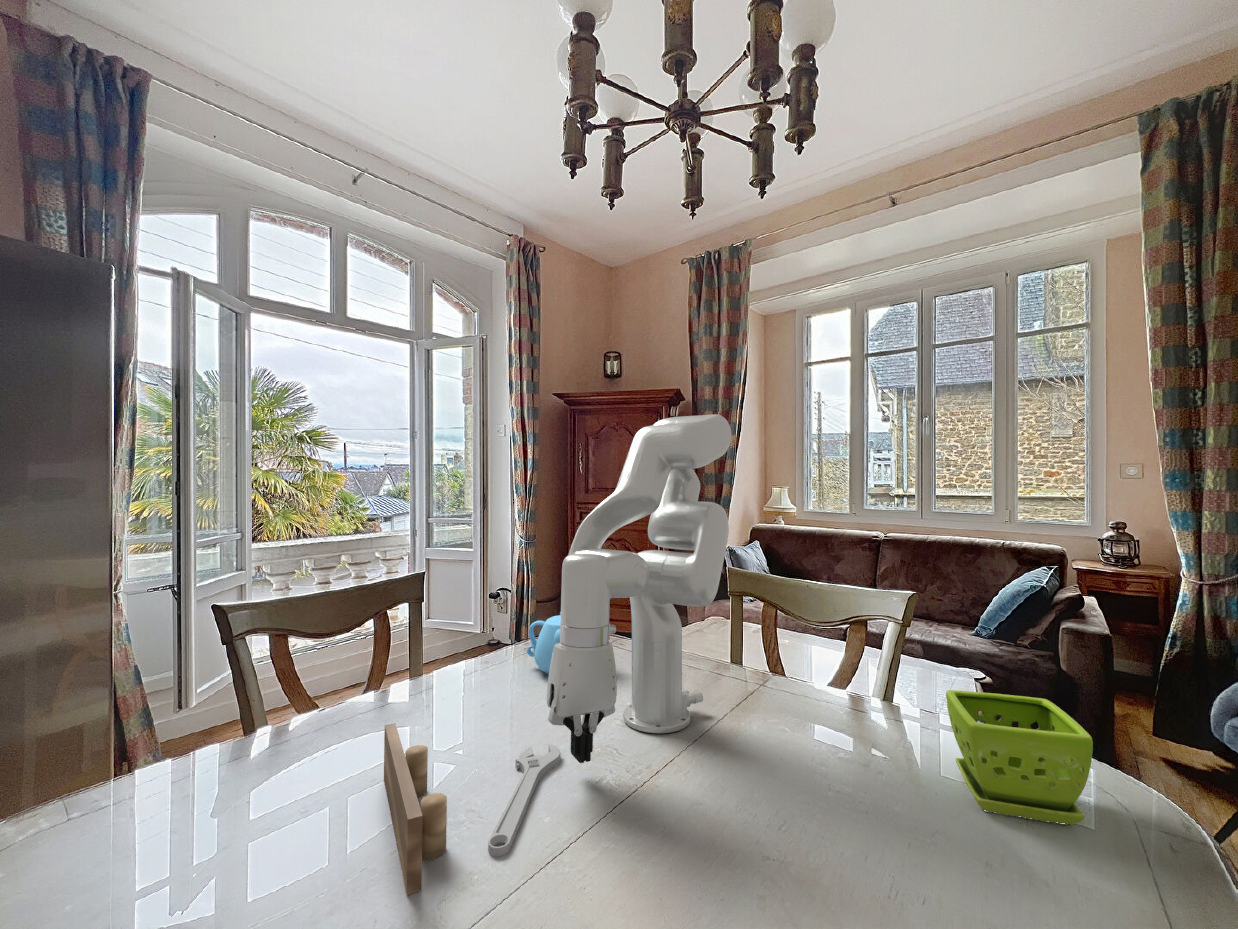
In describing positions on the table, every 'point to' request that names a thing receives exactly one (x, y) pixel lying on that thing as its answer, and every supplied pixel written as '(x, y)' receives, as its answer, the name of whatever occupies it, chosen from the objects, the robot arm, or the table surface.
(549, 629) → the decorative pot
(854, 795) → the table surface
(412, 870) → the tool rack
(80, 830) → the table surface
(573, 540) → the robot arm
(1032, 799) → the flower pot
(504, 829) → the adjustable wrench
